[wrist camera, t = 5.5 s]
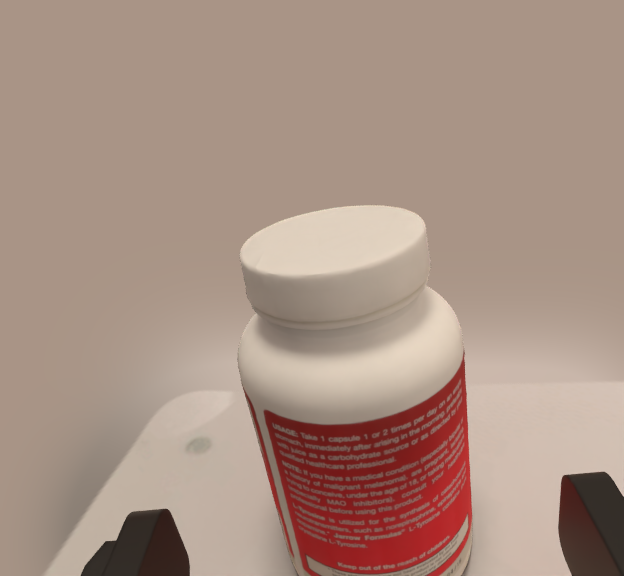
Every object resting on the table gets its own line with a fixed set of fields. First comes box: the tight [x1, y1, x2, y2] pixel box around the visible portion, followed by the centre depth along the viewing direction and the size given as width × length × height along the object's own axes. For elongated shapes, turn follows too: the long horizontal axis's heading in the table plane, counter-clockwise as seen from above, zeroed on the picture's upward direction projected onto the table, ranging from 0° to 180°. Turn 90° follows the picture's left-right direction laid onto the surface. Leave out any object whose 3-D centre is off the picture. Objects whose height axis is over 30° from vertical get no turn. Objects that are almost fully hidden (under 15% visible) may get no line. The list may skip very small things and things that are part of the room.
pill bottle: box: [238, 205, 472, 576], centre depth 15 cm, size 6×6×11 cm
